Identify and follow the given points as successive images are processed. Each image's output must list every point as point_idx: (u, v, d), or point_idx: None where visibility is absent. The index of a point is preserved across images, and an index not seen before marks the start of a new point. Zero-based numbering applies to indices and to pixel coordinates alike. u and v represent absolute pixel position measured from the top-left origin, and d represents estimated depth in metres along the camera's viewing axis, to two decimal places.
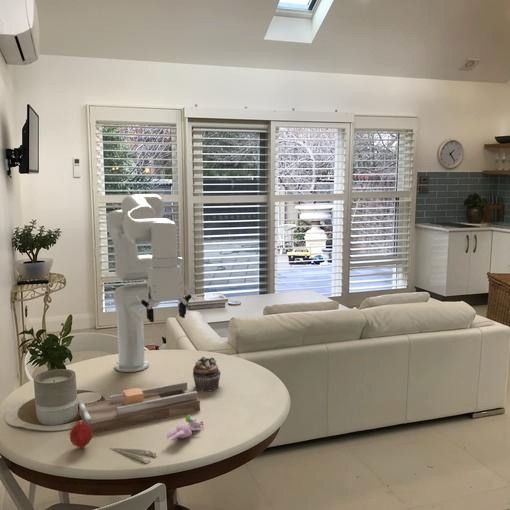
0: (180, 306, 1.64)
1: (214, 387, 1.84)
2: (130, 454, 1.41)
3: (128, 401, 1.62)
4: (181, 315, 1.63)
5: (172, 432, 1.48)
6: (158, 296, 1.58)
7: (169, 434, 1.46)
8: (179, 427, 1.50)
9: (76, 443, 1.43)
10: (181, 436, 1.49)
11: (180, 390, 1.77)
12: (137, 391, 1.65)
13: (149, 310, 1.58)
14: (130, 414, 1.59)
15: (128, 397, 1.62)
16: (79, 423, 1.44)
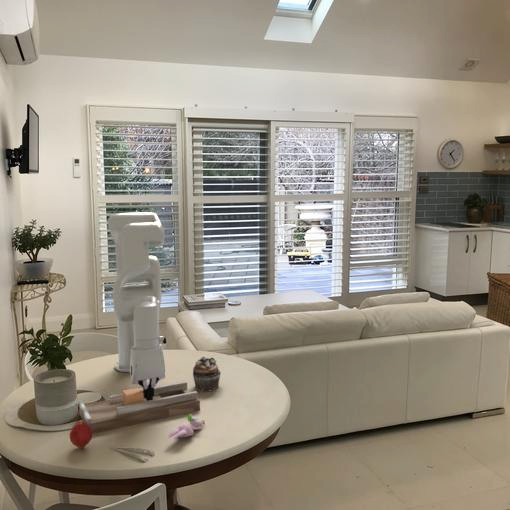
0: None
1: (214, 387, 1.84)
2: (128, 452, 1.42)
3: (128, 401, 1.62)
4: None
5: (174, 431, 1.48)
6: (140, 375, 1.63)
7: (171, 434, 1.47)
8: (181, 426, 1.50)
9: (76, 443, 1.43)
10: (183, 435, 1.50)
11: (180, 390, 1.77)
12: (137, 391, 1.65)
13: (145, 390, 1.66)
14: (130, 414, 1.59)
15: (128, 397, 1.62)
16: (79, 423, 1.44)
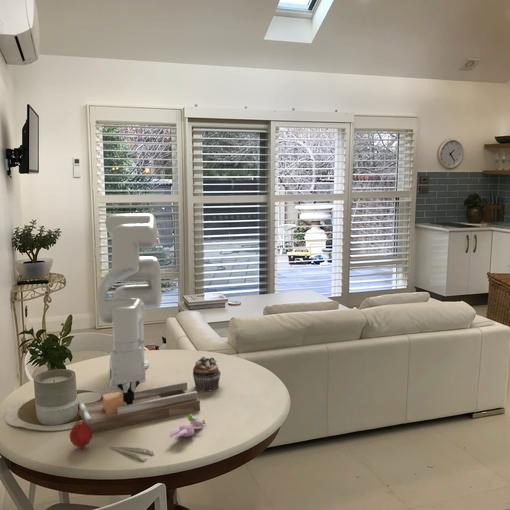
0: None
1: (214, 387, 1.84)
2: (127, 452, 1.42)
3: (107, 406, 1.59)
4: None
5: (175, 431, 1.48)
6: (119, 379, 1.60)
7: (172, 433, 1.47)
8: (182, 426, 1.50)
9: (76, 443, 1.43)
10: (184, 435, 1.50)
11: (180, 390, 1.77)
12: (117, 396, 1.62)
13: (125, 393, 1.63)
14: (130, 414, 1.59)
15: (107, 402, 1.59)
16: (79, 423, 1.44)
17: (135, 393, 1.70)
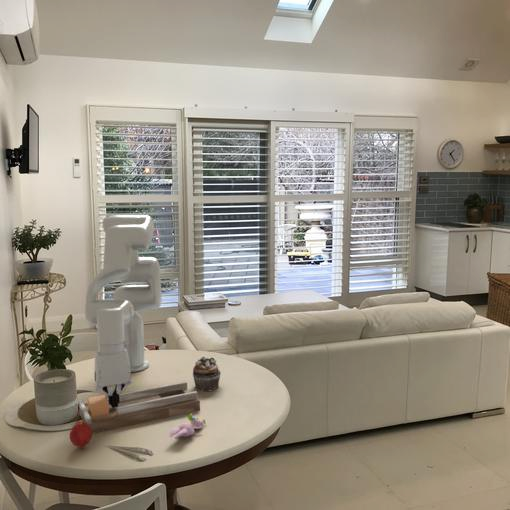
0: None
1: (214, 387, 1.84)
2: (126, 452, 1.43)
3: (92, 409, 1.57)
4: None
5: (175, 430, 1.48)
6: (104, 381, 1.58)
7: (172, 433, 1.47)
8: (182, 425, 1.51)
9: (76, 443, 1.43)
10: (184, 434, 1.50)
11: (180, 390, 1.77)
12: (102, 399, 1.60)
13: (110, 396, 1.61)
14: (130, 414, 1.59)
15: (92, 405, 1.57)
16: (79, 423, 1.44)
17: (135, 393, 1.70)
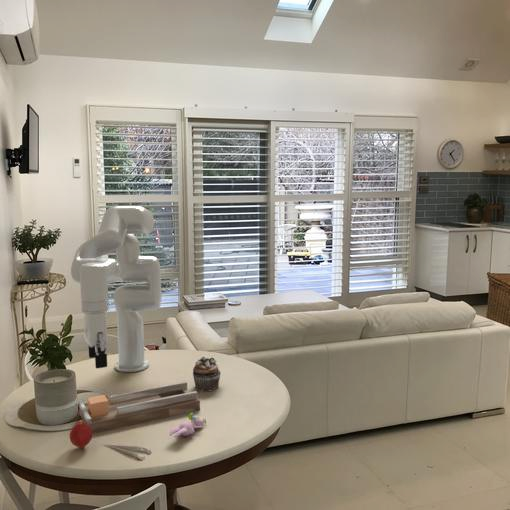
0: (94, 347, 1.62)
1: (214, 387, 1.84)
2: (125, 451, 1.43)
3: (92, 409, 1.57)
4: None
5: (175, 429, 1.49)
6: None
7: (172, 432, 1.48)
8: (182, 424, 1.51)
9: (76, 443, 1.43)
10: (184, 433, 1.50)
11: (180, 390, 1.77)
12: (102, 399, 1.60)
13: (104, 355, 1.54)
14: (130, 414, 1.59)
15: (92, 405, 1.57)
16: (79, 423, 1.44)
17: (135, 393, 1.70)
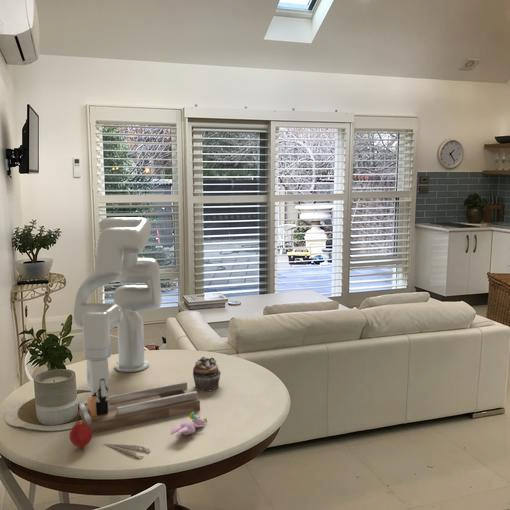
0: None
1: (214, 387, 1.84)
2: (124, 450, 1.44)
3: (91, 408, 1.57)
4: None
5: (176, 428, 1.49)
6: None
7: (173, 431, 1.48)
8: (183, 424, 1.52)
9: (76, 443, 1.43)
10: (185, 433, 1.51)
11: (180, 390, 1.77)
12: None
13: (105, 402, 1.58)
14: (130, 414, 1.59)
15: (91, 404, 1.57)
16: (79, 423, 1.44)
17: (135, 393, 1.70)
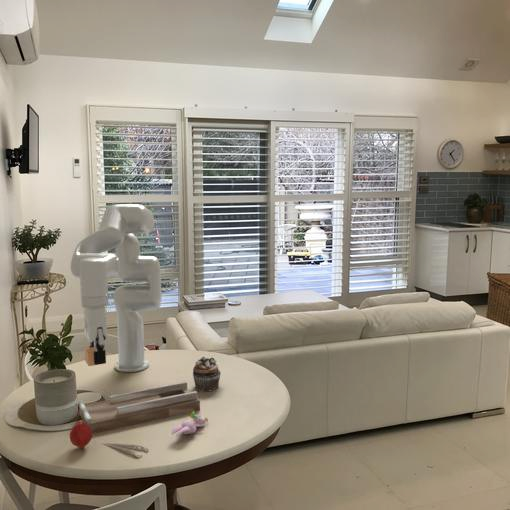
0: None
1: (214, 387, 1.84)
2: (122, 449, 1.44)
3: (89, 358, 1.55)
4: None
5: (177, 428, 1.50)
6: None
7: (174, 430, 1.49)
8: (184, 423, 1.52)
9: (76, 443, 1.43)
10: (186, 432, 1.51)
11: (180, 390, 1.77)
12: None
13: (102, 352, 1.56)
14: (130, 414, 1.59)
15: (89, 354, 1.55)
16: (79, 423, 1.44)
17: (135, 393, 1.70)
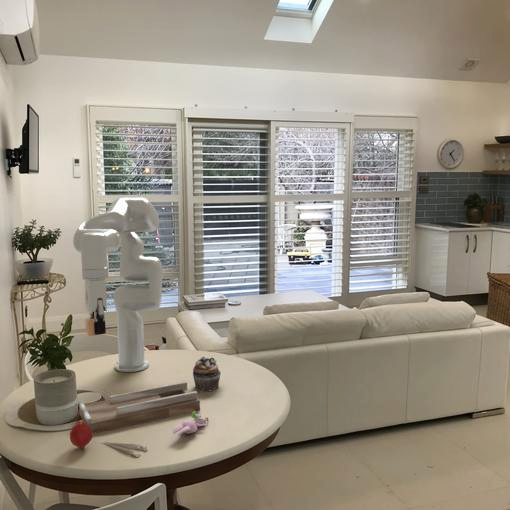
0: None
1: (214, 387, 1.84)
2: (121, 448, 1.44)
3: (89, 328, 1.62)
4: None
5: (178, 428, 1.50)
6: None
7: (175, 430, 1.49)
8: (185, 423, 1.52)
9: (76, 443, 1.43)
10: (187, 432, 1.52)
11: (180, 390, 1.77)
12: None
13: (102, 322, 1.63)
14: (130, 414, 1.59)
15: (89, 324, 1.62)
16: (79, 423, 1.44)
17: (135, 393, 1.70)
